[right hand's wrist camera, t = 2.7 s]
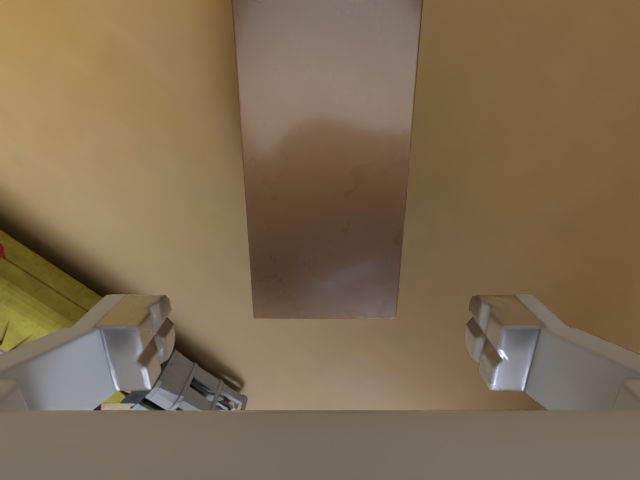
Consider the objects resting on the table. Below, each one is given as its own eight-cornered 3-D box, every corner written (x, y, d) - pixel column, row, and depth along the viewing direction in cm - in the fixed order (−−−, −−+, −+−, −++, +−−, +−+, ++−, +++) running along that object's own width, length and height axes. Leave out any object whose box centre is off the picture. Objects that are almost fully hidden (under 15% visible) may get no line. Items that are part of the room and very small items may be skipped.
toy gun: (120, 528, 29) (238, 443, 24) (-228, 364, 22) (-165, 197, 17) (147, 469, 34) (252, 386, 28) (-139, 315, 27) (-68, 169, 22)
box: (370, 244, 24) (396, 319, 16) (276, 244, 24) (253, 319, 16) (399, -297, 16) (487, -746, 7) (254, -297, 16) (179, -745, 7)
